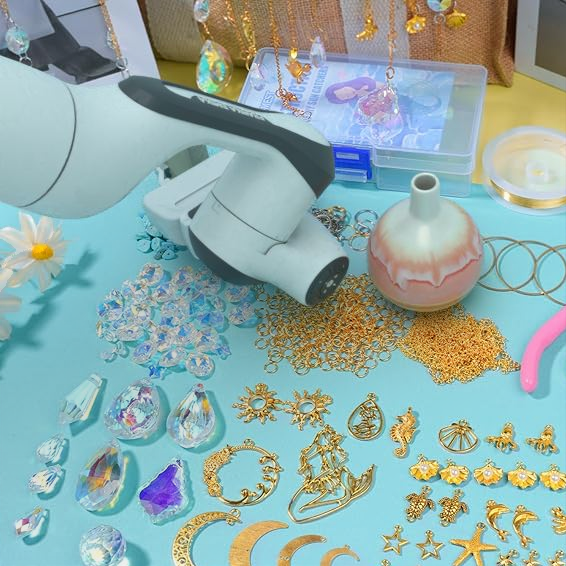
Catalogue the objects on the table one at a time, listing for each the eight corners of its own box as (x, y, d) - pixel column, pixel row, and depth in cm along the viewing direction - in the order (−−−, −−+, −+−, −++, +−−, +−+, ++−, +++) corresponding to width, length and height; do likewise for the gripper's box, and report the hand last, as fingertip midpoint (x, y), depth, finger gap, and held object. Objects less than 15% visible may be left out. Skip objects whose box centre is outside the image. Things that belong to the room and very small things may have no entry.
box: (187, 167, 116) (167, 104, 107) (215, 172, 115) (197, 109, 106) (171, 193, 113) (149, 131, 104) (200, 199, 112) (180, 136, 103)
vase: (363, 329, 98) (353, 228, 84) (374, 241, 106) (366, 135, 91) (480, 334, 96) (490, 232, 82) (482, 245, 104) (492, 137, 89)
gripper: (315, 146, 100) (250, 92, 107) (173, 232, 94) (114, 169, 101) (320, 183, 106) (259, 130, 112) (186, 267, 100) (130, 205, 106)
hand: (189, 149), depth 107 cm, fingers open, 8 cm apart
